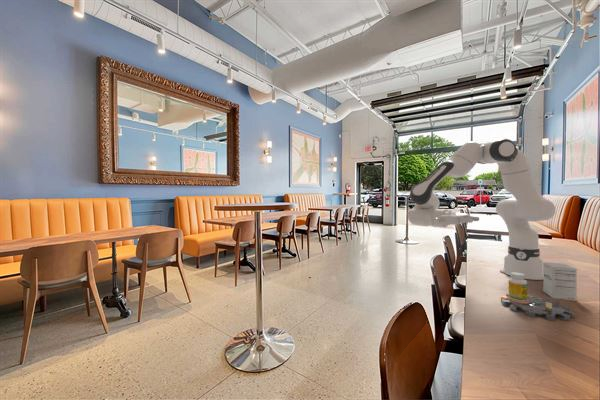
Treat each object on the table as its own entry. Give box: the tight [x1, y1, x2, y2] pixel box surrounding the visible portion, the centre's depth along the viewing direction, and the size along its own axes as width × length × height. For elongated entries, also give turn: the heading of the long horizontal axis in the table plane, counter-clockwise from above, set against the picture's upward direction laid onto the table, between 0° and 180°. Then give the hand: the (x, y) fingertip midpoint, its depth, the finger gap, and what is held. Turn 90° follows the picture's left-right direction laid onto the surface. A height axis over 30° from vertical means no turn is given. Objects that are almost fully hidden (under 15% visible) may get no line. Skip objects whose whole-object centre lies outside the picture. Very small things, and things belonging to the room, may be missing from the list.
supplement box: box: [542, 261, 578, 302], centre depth 101 cm, size 7×7×13 cm
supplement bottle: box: [508, 272, 528, 302], centre depth 95 cm, size 5×5×10 cm
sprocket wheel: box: [500, 293, 574, 322], centre depth 91 cm, size 19×19×4 cm
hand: (475, 219), depth 112 cm, fingers open, 8 cm apart
